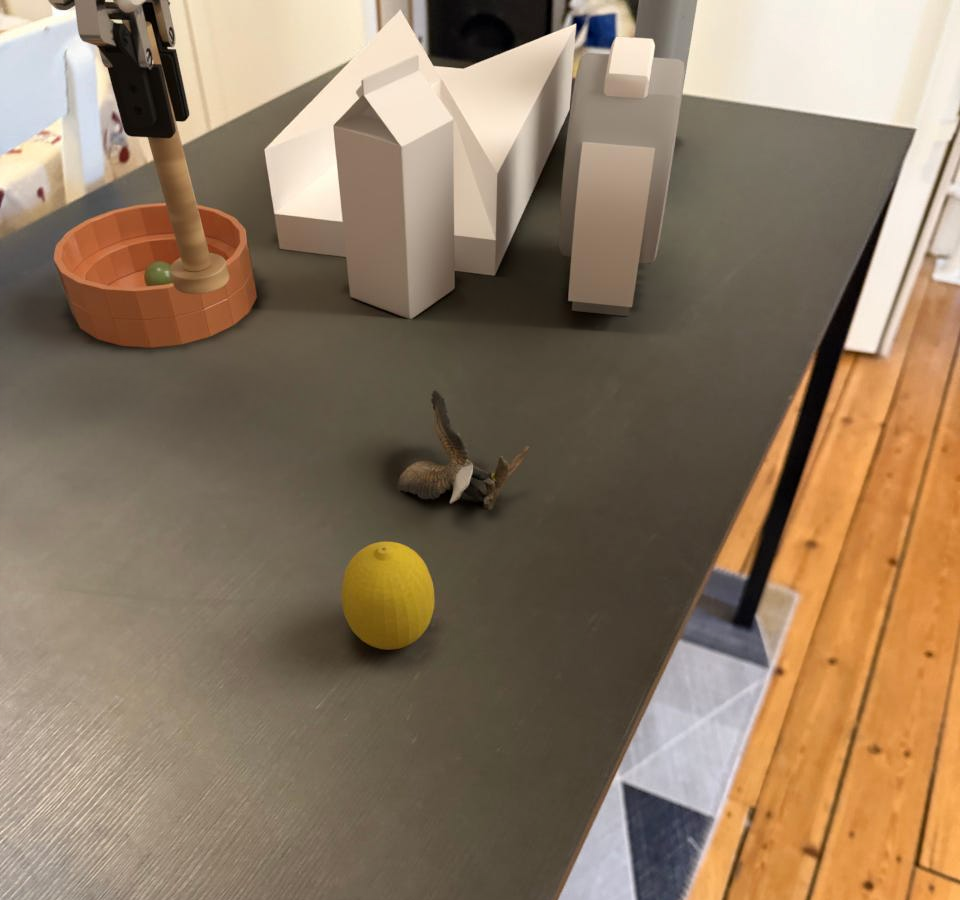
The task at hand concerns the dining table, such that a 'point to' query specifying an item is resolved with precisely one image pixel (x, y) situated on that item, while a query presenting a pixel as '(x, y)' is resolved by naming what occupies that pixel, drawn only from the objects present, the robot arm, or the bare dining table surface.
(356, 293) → the milk carton
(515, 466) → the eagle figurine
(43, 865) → the dining table surface
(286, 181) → the building model
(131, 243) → the bowl
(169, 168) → the stick
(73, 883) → the dining table surface
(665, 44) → the flask
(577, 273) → the grey boxy piece
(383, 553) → the lemon
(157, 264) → the bead
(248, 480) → the dining table surface
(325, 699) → the dining table surface
